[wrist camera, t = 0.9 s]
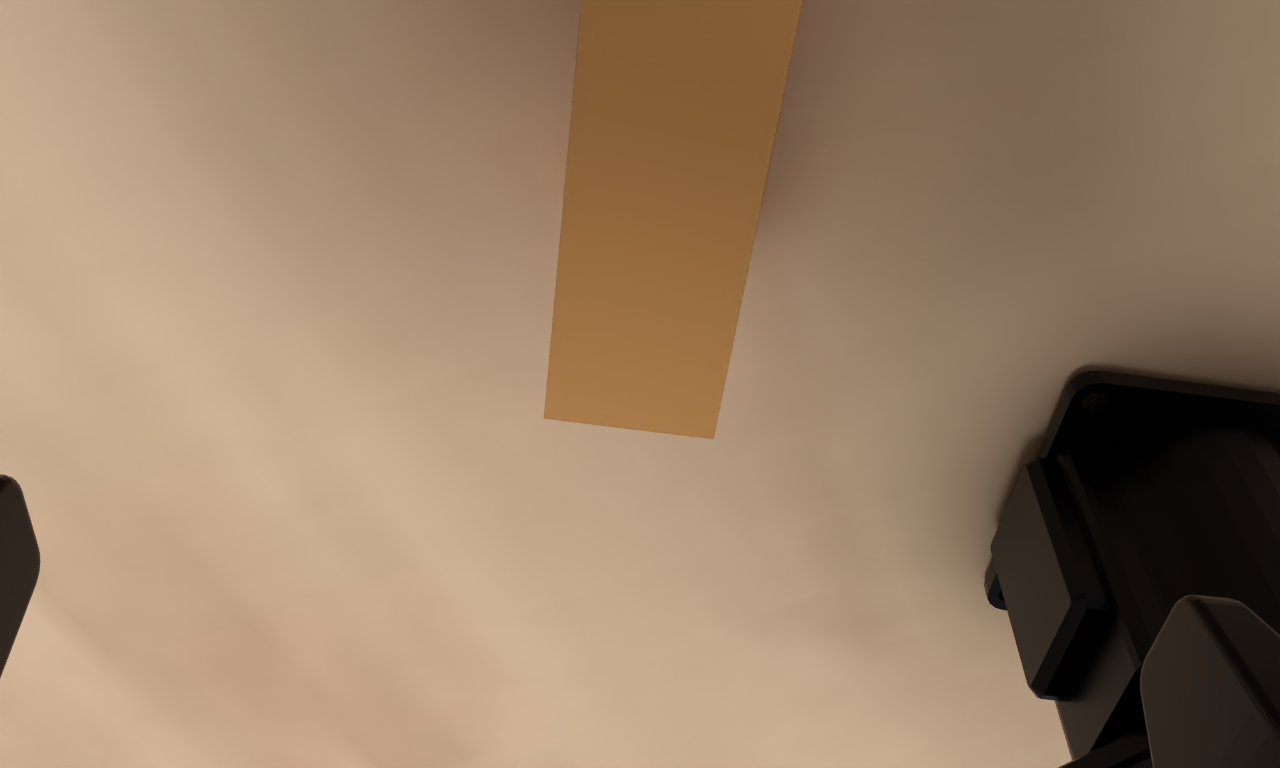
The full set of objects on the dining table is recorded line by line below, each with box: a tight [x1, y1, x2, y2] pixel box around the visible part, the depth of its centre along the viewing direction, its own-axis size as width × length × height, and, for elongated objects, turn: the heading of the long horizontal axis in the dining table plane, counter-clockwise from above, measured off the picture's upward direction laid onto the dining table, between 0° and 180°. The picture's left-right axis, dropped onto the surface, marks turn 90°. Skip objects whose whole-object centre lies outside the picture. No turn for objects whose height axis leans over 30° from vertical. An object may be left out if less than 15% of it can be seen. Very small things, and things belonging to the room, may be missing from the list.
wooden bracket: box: [544, 0, 803, 439], centre depth 17 cm, size 2×8×6 cm, turn 173°
